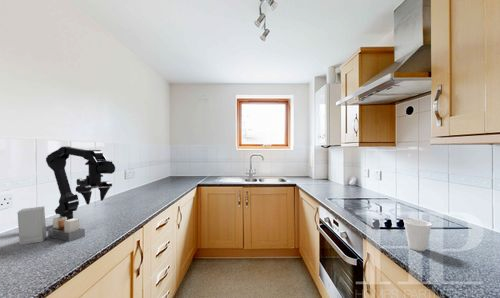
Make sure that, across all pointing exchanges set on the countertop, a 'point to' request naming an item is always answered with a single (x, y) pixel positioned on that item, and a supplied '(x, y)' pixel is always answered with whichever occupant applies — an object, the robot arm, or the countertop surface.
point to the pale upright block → (71, 225)
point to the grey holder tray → (59, 230)
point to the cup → (417, 233)
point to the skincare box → (31, 225)
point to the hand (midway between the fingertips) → (95, 202)
